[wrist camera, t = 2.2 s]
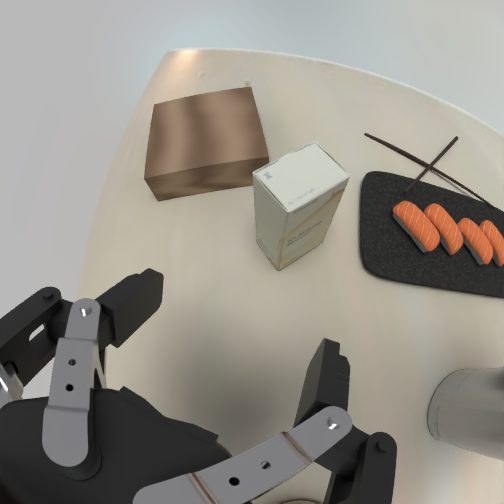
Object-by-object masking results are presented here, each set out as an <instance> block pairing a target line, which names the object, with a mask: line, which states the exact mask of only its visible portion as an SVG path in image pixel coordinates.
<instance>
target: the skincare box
mask: <svg viewBox="0 0 504 504" xmlns="http://www.w3.org/2000/svg"><path fill="white" fill-rule="evenodd" d="M349 178H350V175H349V174H348V173H347V172H346V170H345V169H344V168H343V167H342V166H341V165H340V164H339V163H338V162H337V161H336V160H335V159H334V158H333V157H332V156H331V155H330V154H329V153H328V152H327V151H326V150H325V149H323V148H322V147H321V146H320V145H319V144H318V143H317V142H312V143H310V144H308V145H305V146H303V147H301V148H299V149H297V150H295V151H293V152H290V153H288V154H286V155H284V156H282V157H280V158H278V159H277V160H275V161H273V162H271V163H269V164H267V165H265V166H263V167H261V168H260V169H258V170H256V171H254V172H253V188H254V205H255V221H256V238H257V243H258V244H259V246H260V247H261V249H262V250H263V251H264V253H265V254H266V256H267V257H268V258H269V260H270V261H271V262H272V264H273V265H274V266H275V268H276V269H277V270H278V271H279V270H281V269H283V268H284V267H286V266H287V265H289V264H291V263H292V262H294V261H295V260H297V259H298V258H300V257H302V256H303V255H305V254H306V253H308V252H309V251H311V250H312V249H313V248H315V247H316V246H318V245H319V244H321V243H322V241H323V239H324V237H325V235H326V232H327V230H328V228H329V226H330V223H331V221H332V219H333V216H334V214H335V212H336V209H337V207H338V204H339V202H340V200H341V197H342V195H343V192H344V190H345V187H346V185H347V182H348V180H349Z"/></svg>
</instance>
